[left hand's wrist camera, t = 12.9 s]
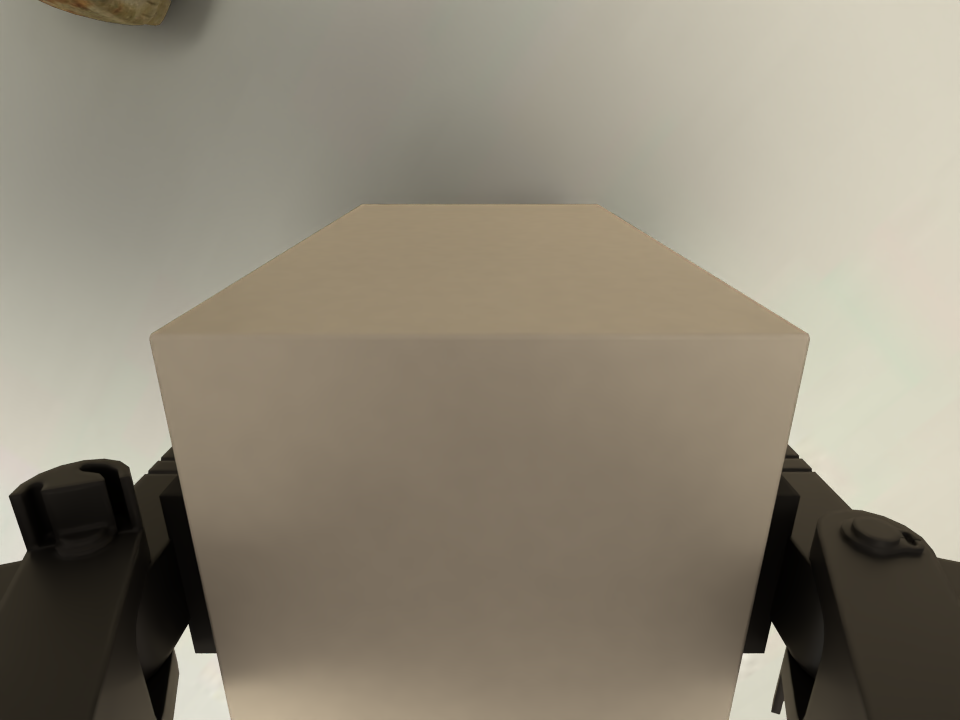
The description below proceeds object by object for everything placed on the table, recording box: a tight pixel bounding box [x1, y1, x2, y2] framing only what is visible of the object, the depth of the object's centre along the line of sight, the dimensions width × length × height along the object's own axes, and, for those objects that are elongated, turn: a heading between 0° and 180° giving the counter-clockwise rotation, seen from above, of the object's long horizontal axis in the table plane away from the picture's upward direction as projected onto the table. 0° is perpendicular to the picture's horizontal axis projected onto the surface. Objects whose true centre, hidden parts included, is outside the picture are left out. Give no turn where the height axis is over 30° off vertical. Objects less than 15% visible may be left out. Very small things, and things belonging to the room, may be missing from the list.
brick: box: [150, 204, 810, 720], centre depth 13 cm, size 8×7×12 cm
